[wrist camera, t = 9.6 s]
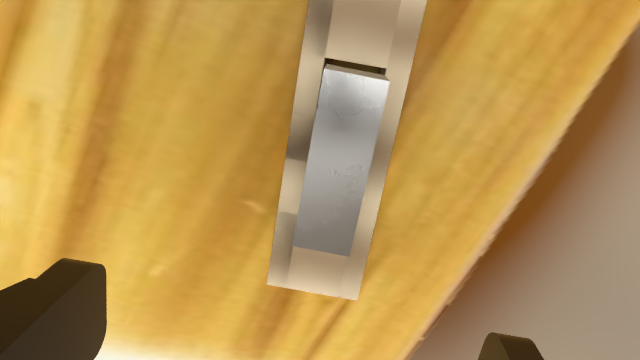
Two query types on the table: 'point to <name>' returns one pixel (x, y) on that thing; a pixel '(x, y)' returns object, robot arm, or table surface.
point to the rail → (318, 44)
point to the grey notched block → (339, 158)
